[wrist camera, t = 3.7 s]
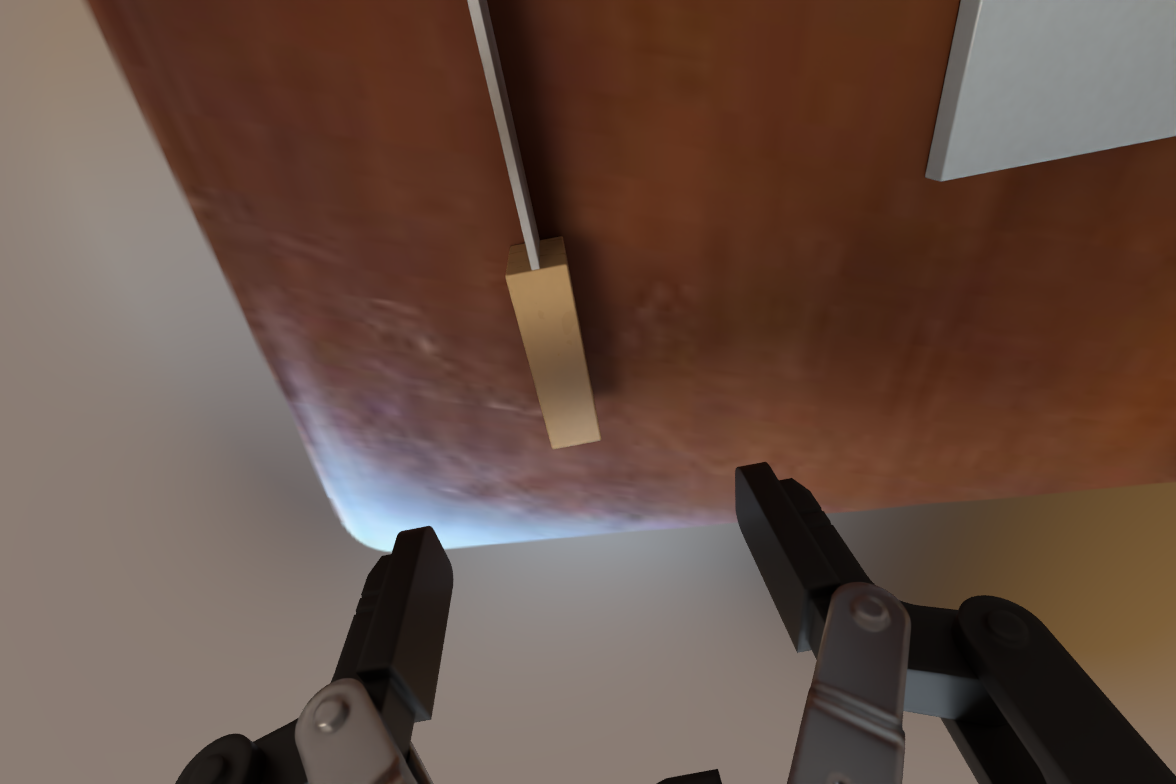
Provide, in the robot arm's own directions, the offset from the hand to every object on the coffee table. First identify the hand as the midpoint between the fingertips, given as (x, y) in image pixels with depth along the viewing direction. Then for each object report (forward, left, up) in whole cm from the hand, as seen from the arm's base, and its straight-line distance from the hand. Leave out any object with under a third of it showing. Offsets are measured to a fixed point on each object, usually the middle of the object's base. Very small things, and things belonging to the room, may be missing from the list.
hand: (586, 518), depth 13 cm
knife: (-5, 0, -11) cm, 12 cm away
